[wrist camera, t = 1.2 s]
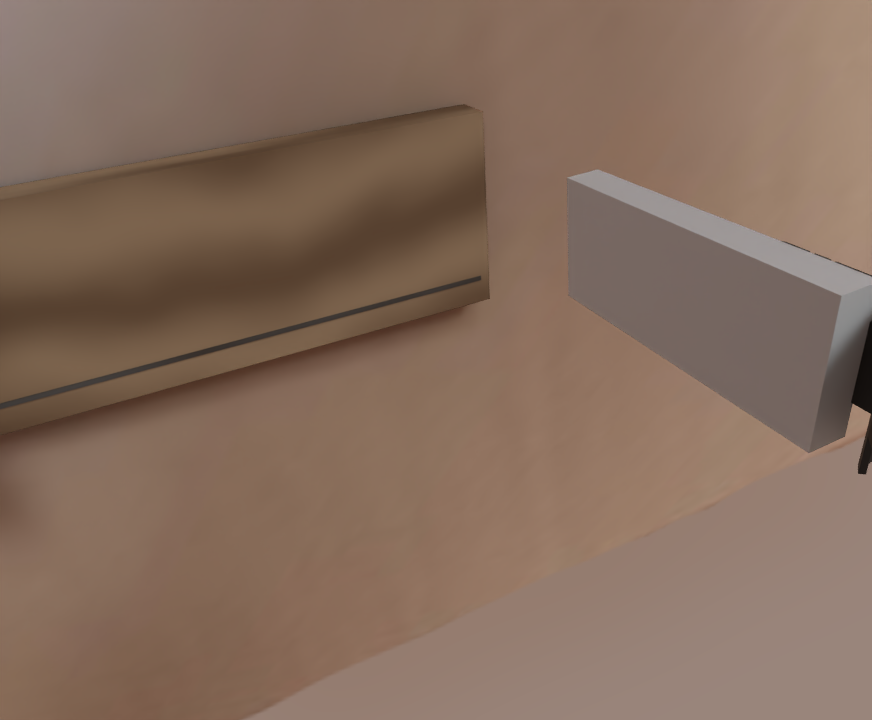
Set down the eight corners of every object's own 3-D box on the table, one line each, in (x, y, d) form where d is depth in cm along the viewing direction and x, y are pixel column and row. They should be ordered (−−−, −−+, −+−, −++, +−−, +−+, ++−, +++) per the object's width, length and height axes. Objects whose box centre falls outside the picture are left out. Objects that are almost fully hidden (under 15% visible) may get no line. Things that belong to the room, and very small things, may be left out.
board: (-268, 235, 27) (-288, 253, 25) (464, 104, 36) (483, 111, 35) (-137, 450, 32) (-147, 477, 30) (472, 285, 42) (490, 299, 40)
